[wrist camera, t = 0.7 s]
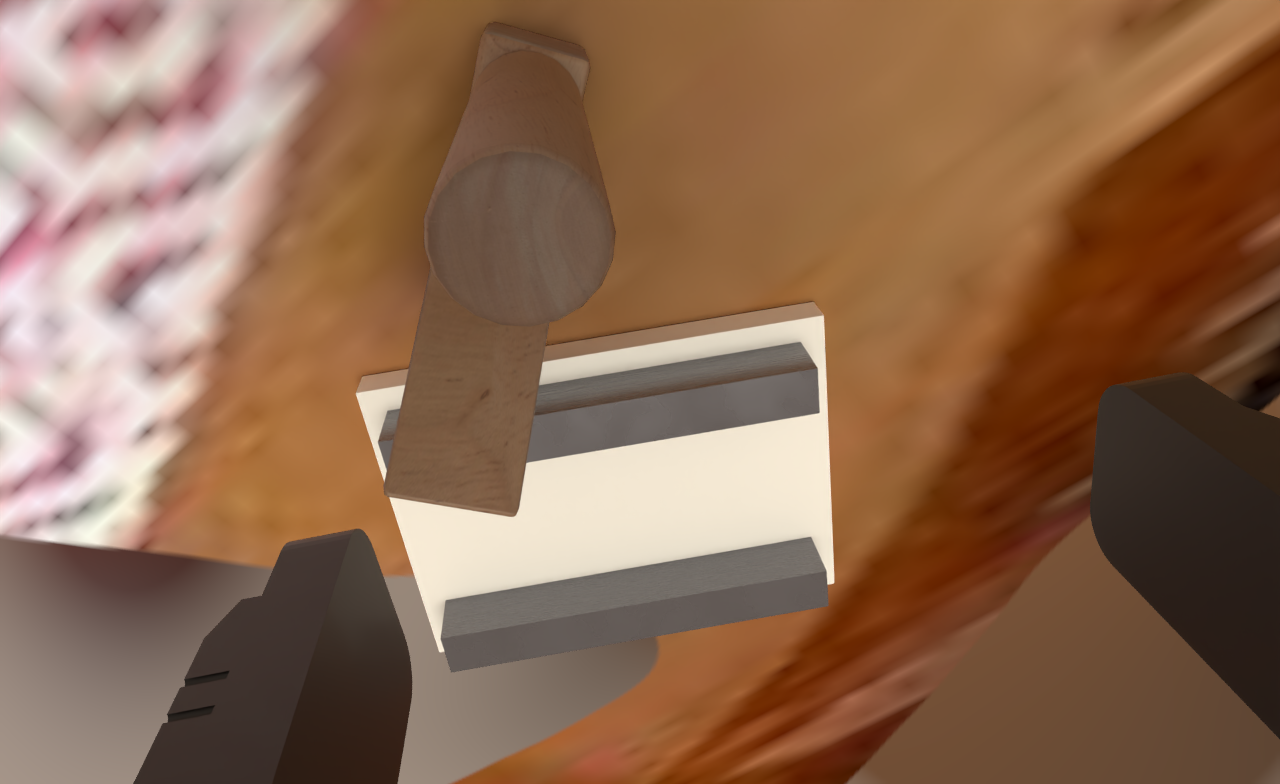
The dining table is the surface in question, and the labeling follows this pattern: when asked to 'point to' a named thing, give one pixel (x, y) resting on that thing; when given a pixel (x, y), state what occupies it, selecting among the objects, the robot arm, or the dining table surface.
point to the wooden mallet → (500, 272)
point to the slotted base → (638, 493)
